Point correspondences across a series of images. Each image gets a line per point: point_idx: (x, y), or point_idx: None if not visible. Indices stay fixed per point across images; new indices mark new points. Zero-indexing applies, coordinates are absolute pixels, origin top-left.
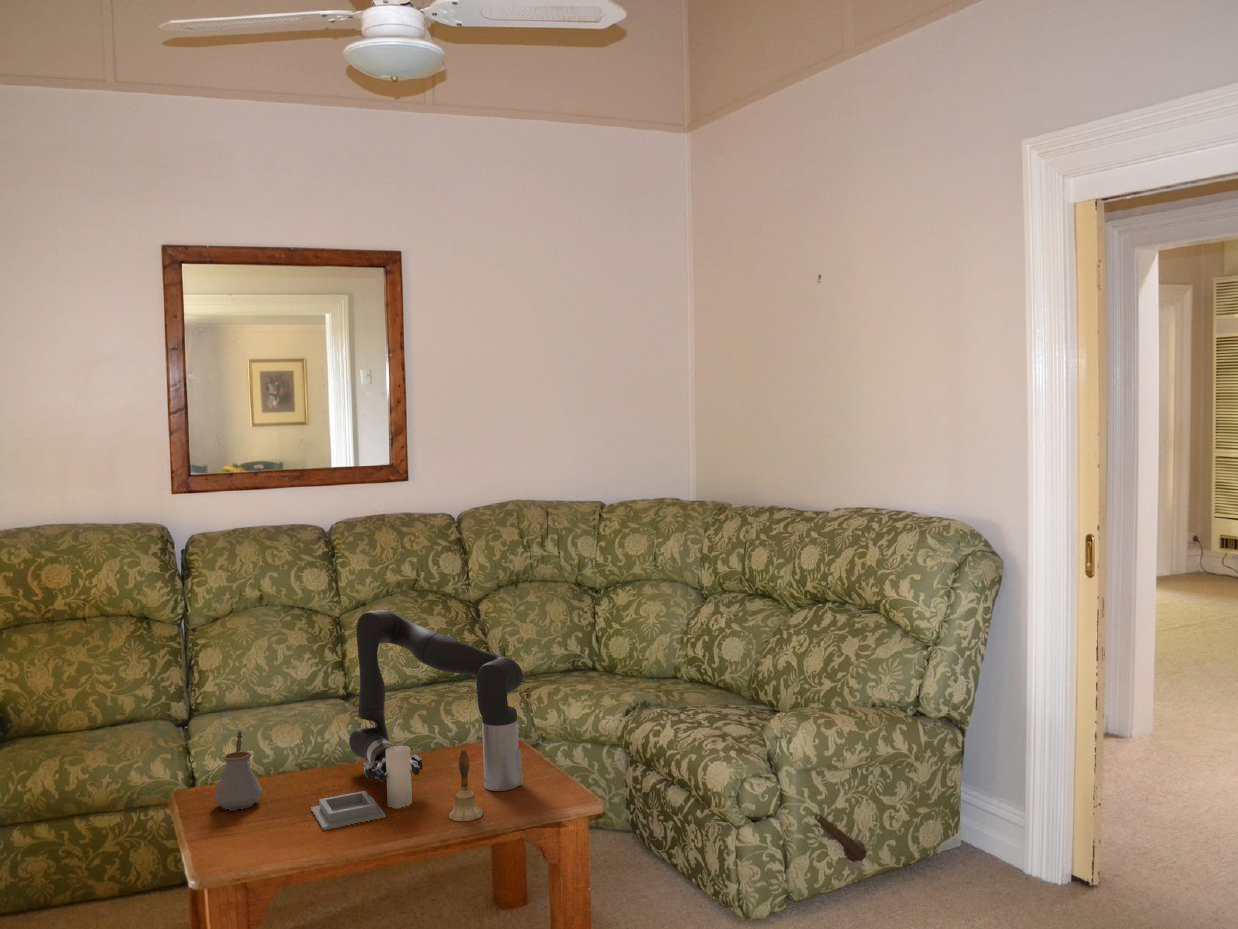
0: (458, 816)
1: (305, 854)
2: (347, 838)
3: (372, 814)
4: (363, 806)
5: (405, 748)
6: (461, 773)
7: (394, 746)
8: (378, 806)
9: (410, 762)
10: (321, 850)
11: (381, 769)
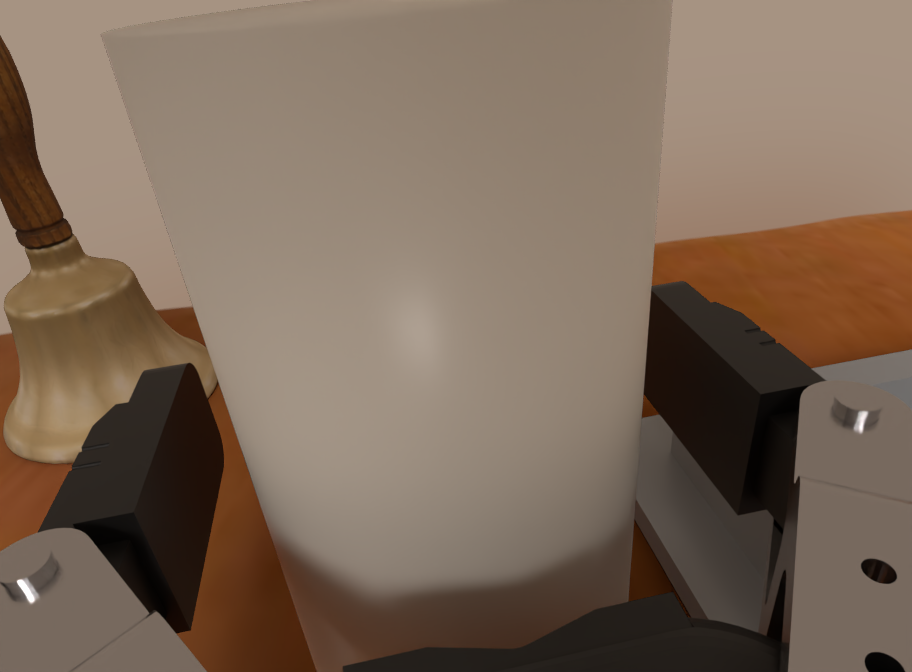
0: (186, 337)
1: (891, 230)
2: (760, 295)
3: None
4: None
5: (223, 14)
6: (33, 135)
7: (438, 4)
8: (697, 586)
9: (112, 569)
10: (835, 243)
11: (735, 368)
